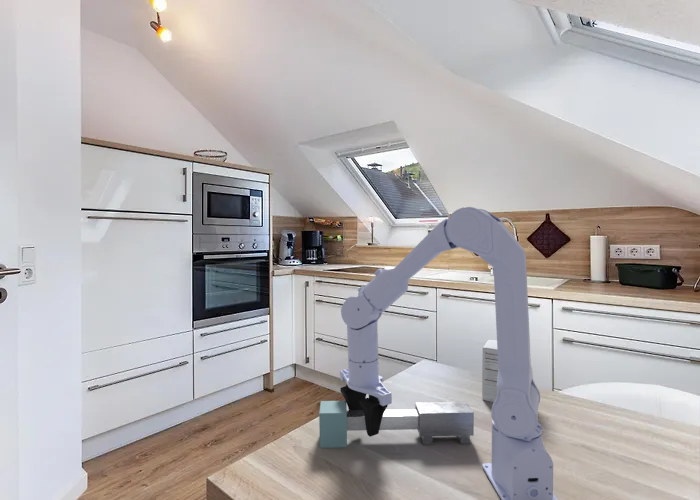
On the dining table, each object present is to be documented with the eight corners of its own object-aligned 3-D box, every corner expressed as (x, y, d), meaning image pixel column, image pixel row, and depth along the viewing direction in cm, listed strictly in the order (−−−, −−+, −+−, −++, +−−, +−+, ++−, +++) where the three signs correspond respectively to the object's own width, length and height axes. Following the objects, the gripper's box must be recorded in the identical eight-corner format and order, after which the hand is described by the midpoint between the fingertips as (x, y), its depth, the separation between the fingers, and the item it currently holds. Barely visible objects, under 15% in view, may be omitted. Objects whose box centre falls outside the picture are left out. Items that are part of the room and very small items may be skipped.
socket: (347, 447, 71) (346, 412, 71) (319, 447, 71) (319, 413, 71) (346, 432, 76) (346, 400, 76) (321, 433, 76) (320, 401, 76)
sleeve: (473, 443, 72) (473, 412, 71) (419, 444, 72) (419, 413, 71) (465, 431, 76) (466, 401, 76) (415, 432, 76) (415, 402, 76)
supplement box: (487, 388, 96) (488, 338, 95) (519, 394, 92) (520, 343, 92) (481, 400, 90) (481, 346, 89) (515, 407, 86) (516, 351, 85)
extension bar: (429, 429, 72) (429, 415, 72) (338, 431, 72) (338, 417, 72) (426, 422, 75) (426, 408, 75) (338, 423, 75) (338, 410, 75)
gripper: (404, 364, 69) (406, 438, 69) (359, 344, 81) (361, 408, 82) (372, 373, 65) (374, 451, 66) (330, 351, 77) (332, 417, 78)
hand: (365, 428), depth 74 cm, fingers closed on extension bar, 5 cm apart
